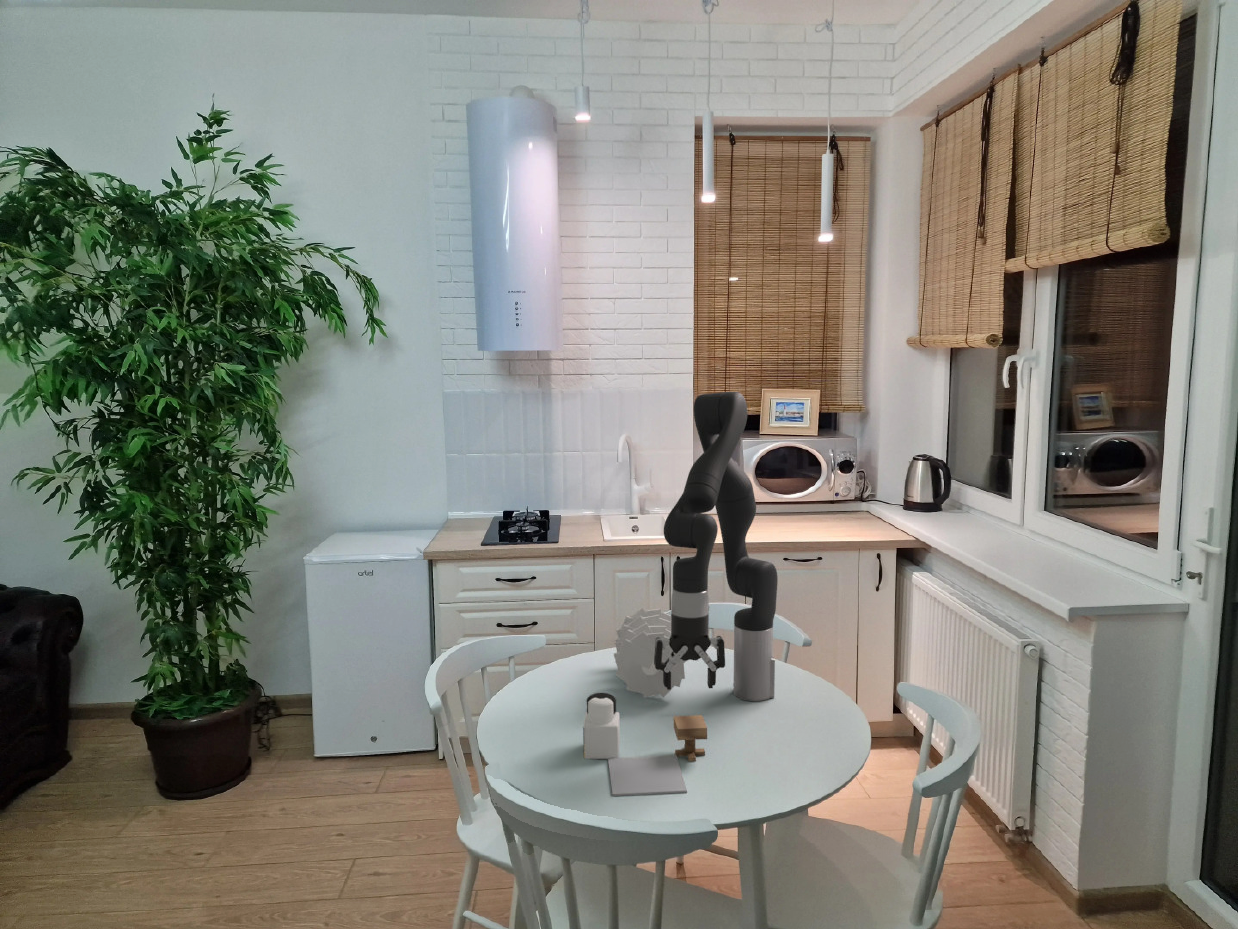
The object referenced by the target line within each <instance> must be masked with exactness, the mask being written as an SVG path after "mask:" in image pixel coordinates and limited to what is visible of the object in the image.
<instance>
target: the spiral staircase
mask: <svg viewBox="0 0 1238 929" xmlns="http://www.w3.org/2000/svg"><path fill="white" fill-rule="evenodd" d="M615 631H616V635H617V638H615V639H614V642H615V643H614V644H615V648H616V652H614V653H613V657H614V660H615V662H614V663H616V666H617V670H616V671H615V672H614V673H615V675H616V676H617V677H619V679H621V680H622V681H623V682H624V683H625V684H626V688H625V690H627V691H630V692H634V693H637V694H642V696H643V699H646V698H649V697H650V698H651V697H653V696H657V695H661V697H663V698H665V696H666V695H667V694H668V693H669V692H670V691H671V690H673V688H674V687H677V688H680V686H681V683H682V680H685V679H686V677H685V676H686V675H685V674H686V672H685V663H686V662H687V661H683V660H681V659H680V660H679V661H678V662H677V664H676V665H674V666H673V667H672V669H671V670H670V671H671V690H667V687H665V686H664V683H663V671H662V670H657V669H656V668H655V665H654V654H655V640H656V638H657V637H659V638H661V639H670V637H671V614H668V613H665V612H664V611H662V608H655V609H654V608H653V609H648V610H647V609H646V610H645V608H644V607H642V608H640V609H639V610H637V611H636V612H635V613H634V614H632V615H630V616H628V615H626V616H625V618H624V621H623V622H622V625H621V627H620V628H617V629H615ZM671 652H672V649H671V647H670V646H669V645H668V646H667V647H666V649H665V650H663V651H662V662H663V663H664V662H665V661H666V660H667V658H668V656H669V654H670V653H671Z"/></svg>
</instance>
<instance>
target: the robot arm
mask: <svg viewBox="0 0 1238 929" xmlns="http://www.w3.org/2000/svg"><path fill="white" fill-rule="evenodd" d="M693 419H694V422H695V427H696V431H697V433H698V437H699V438H698V439H699V441H700V443H701V447H702V450H703V453H702V454H701V455H700V456H698V458H697V459H696V460H695V461H694V463H693V465H692V466H691V468H690V470H689V472H688V476H687V479H686V482H685V486H684V487H683V488H684V489H683V493H681V495H680V497H679V498H678V500H677V502H676V503H675V505H674V506H673V507H672V509H671V511H670V512H669V514H668V515H667V517H666V518H665V521H664V525H663V535H664V539H665V541H666V543H667V544H669V545H670V546H672V547H675V548H688V549H696V554H695V556H690V557H683V558H678V559H676V560H674V562H673V564H672V565H673V566H672V592H671V593H672V594H671V603H670V604H671V608H670V610H671V612H670V613H671V614H670V616H671V637H670V639H661V638H659V637H657V638H656V640H655V654H654V665H655V668H656V669H657V670H662V671H663V683H664V686H665V687H667V690H670V691H671V690H672V689H671V671H670V670H671V669H672V667H673V666H674V665H676V664H677V662H678V661H679V660H680V659H681V660H683V661H686V662H688V661H690V660H691V661H699V660H700V659H701V660H703V662H704V663H705V664H706V665H707V680H706V682H707V687H708V689H713V687H714V686H716V684H717V683H716V682H717V670H718V669H722V668H723V669H724V668H725V666H726V654H725V653H726V652H725V650H726V648H725V641H724V639H723V637H722V635H717V636H716V637H712V638H710V637H709V622H710V621H709V620H710V619H709V617H710V615H709V612H710V603H709V601H710V598H709V591H708V590H709V589H708V587H709V586H708V585H709V584H708V581H709V579H708V578H709V577H708V576H709V566H710V560H711V555H712V553H713V549H714V546H715V543H716V540H717V537H718V533H719V532H718V524H719V528H720V534H721V542H722V544H723V545H722V546H723V556H724V564H725V566H724V567H725V576H726V579H727V580H726V581H727V585H728V587H729V589H730V591H732V593H734V594H735V595H738V596H741V597H746V598H750V599H752V600H751V605H750V607H746V608H742V609H740V610H737V611H736V612H735V614H734V617H733V618H734V620H733V625H734V626H733V684H732V686H733V695H734V696H735V697H737V698H738V699H741V700H744V701H749V702H750V701H751V702H759V701H760V702H761V701H766V700H768V699H770V698H772V699H773V698H775V689H776V688H775V685H776V684H775V681H776V680H775V678H776V677H775V676H776V674H775V673H776V671H775V670H776V659H775V658H774V656H773V652H774V648H773V647H774V639H773V638H774V619H775V616H776V615H775V614H776V611H777V610H776V609H777V608H776V607H777V596H778V595H777V594H778V578H779V577H778V571H777V568H776V566H775V565H774V564H773V563H772V562H770V561H768V560H767V561H766V560H761V559H756V558H751V557H749V554H748V551H747V546H746V538H747V534H748V532H749V530H750V527H751V526H752V525H753V521H754V520H755V516H756V513H757V503H756V498H755V493H754V487H753V483H752V481H751V479H750V478H749V475H747V473H746V472H745V471H744V470H743V469H742V467H741V466H740V465H739V464H738V463H737V462H736V461H735V460H734V459H733V458H732V457H733V454H734V452H735V450H736V448H737V445H738V444H739V442H740V439H741V437H742V435H743V433H744V430H745V428H746V425H747V420H748V405H747V402H746V399H745V397H744V395H743V394H742V393H740V392H739V391H726V392H725V391H724V392H712V393H703V394H699V395H698V396H696V398H695V400H694V403H693ZM714 508H715V510H716V514H717V518H718V522H719V523H717V521H716V519H715V518H714V517H713V515H711V514H708V513H709V512H711V511H712V510H713V509H714ZM668 645H669V646H670V647H671V649H672V652H671V653H670V654H669V656H668V658H667V660H666V661H665V662H664V663H663V662H662V651H663V650H665V649H666V647H667V646H668ZM711 645H713V648H714V649H715V650H716V660H713V659H712V658H711V657H710V656H709V654H708V653H707V650H708V649H709V648H710V646H711Z"/></svg>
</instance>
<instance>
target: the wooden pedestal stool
mask: <svg viewBox="0 0 1238 929" xmlns="http://www.w3.org/2000/svg"><path fill="white" fill-rule="evenodd" d="M673 730H674V733H675V736H676V739H677V741H684V743H683V744H684V749H674V755H676V756H677V758H678V757H687V759H688V762H696V761H697V760H696V759H697V757H698V756H699V757H700V756H706V750H705V748H703V747H702V748H696V740H699V741H700V740H707V739H708V726H707V723H706V721H705V719H704V717H703V714H697V715H695V714H694V715H678V716H677V715H675V716H673Z"/></svg>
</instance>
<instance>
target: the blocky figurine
mask: <svg viewBox="0 0 1238 929" xmlns="http://www.w3.org/2000/svg"><path fill="white" fill-rule="evenodd" d="M582 729H583V730H582V731H583V733H582V734H583V738H582V739H583V740H582V741H583V758H584V759H585V760H608V758H620V757H619V756H620V755H619V754H620V742H621V740H620V738H621V736H620V735H621V734H620V732H621V731H620V713H619V712H618V711H617V698H616V697H615V696H614V695H613V694H611V693H608V692H596V693H593V694H590V695H589V696H588V697H587V698H586V712H585V715H584V722H583V727H582Z"/></svg>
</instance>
